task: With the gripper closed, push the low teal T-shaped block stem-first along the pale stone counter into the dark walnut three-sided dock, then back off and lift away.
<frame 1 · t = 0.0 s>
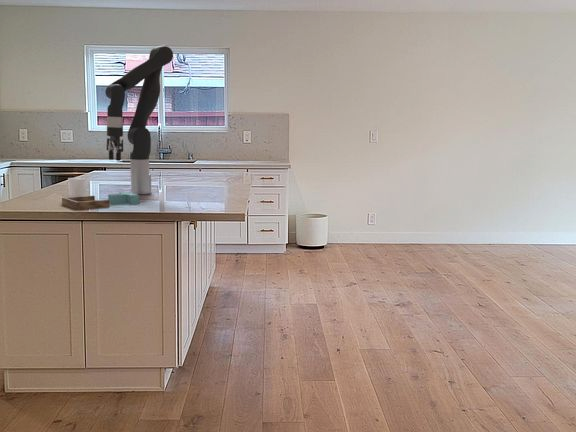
hand: (114, 160, 299), 17 cm above the table, tool pointing down, fingers open, 8 cm apart
white cup: (77, 200, 283), on the table
walnut dock: (87, 205, 266), on the table
teal T-block: (121, 202, 276), on the table
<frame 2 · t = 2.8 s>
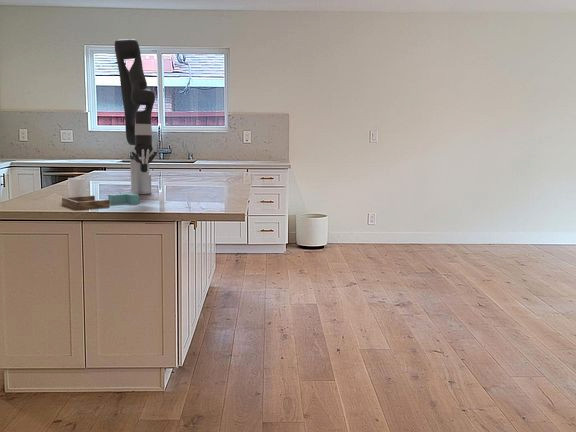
hand: (143, 172, 281), 13 cm above the table, tool pointing down, fingers closed
nothing on the table moved.
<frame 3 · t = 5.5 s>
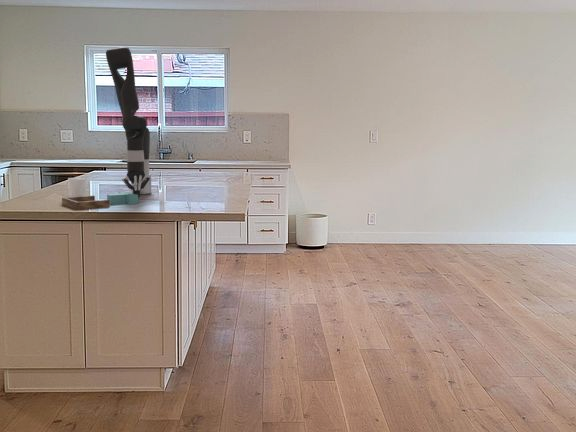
hand: (136, 198, 280), 2 cm above the table, tool pointing down, fingers closed
teal T-block: (120, 202, 276), on the table, touching gripper
everything else where it was.
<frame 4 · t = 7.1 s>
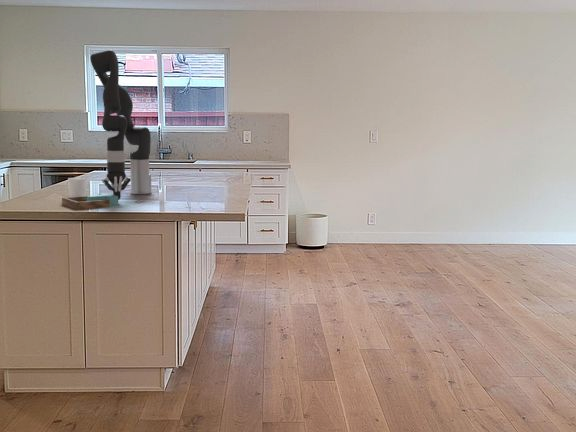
hand: (116, 199, 274), 2 cm above the table, tool pointing down, fingers closed
teal T-block: (100, 204, 270), on the table, touching gripper
everything else where it was.
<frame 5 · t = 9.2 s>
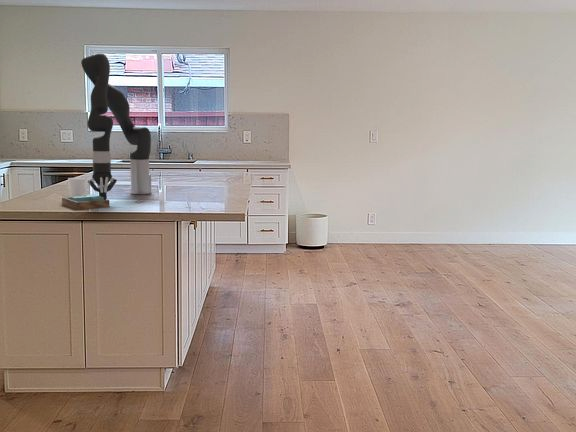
hand: (102, 200, 270), 2 cm above the table, tool pointing down, fingers closed
teal T-block: (86, 205, 266), on the table, touching gripper
everything else where it was.
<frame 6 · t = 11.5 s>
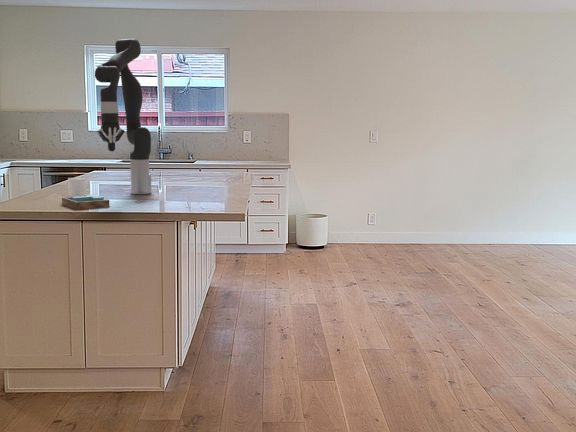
hand: (111, 151, 277), 23 cm above the table, tool pointing down, fingers closed
teal T-block: (86, 205, 266), on the table
everything else where it was.
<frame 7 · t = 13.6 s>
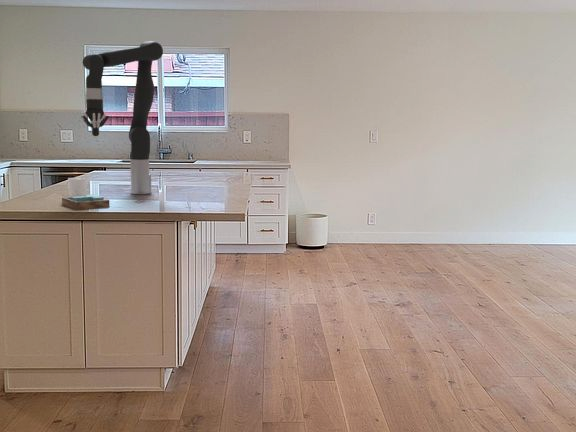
hand: (95, 136, 288), 29 cm above the table, tool pointing down, fingers closed
nothing on the table moved.
at the end: teal T-block 1.1 cm off-centre on the walnut dock, point 0.0 cm above the walnut dock's base; teal T-block tilted 1° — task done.
